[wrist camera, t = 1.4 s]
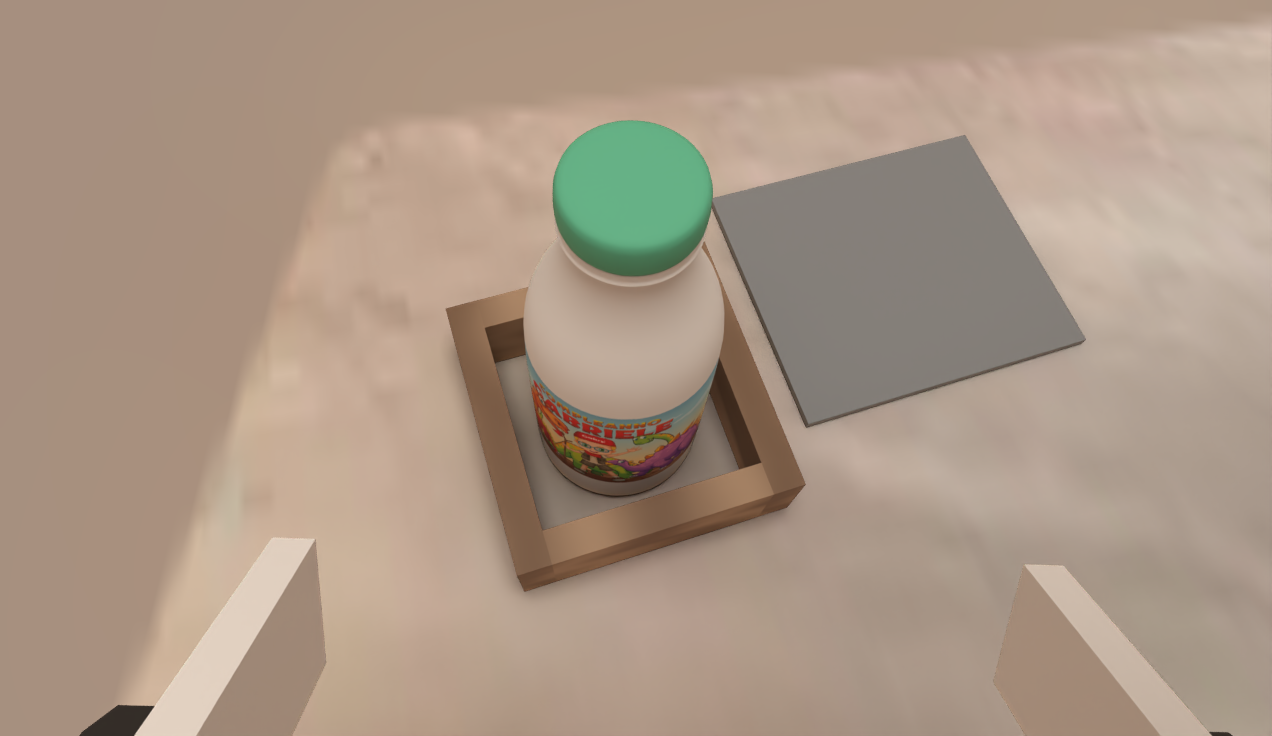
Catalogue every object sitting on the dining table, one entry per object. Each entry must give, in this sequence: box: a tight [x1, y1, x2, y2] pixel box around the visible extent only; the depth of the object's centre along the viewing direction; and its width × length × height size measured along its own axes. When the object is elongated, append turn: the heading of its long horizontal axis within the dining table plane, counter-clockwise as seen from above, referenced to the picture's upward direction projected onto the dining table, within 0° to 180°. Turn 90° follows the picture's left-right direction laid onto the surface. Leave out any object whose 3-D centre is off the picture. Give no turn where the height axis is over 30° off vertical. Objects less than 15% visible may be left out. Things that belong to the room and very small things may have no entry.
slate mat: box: [712, 135, 1086, 427], centre depth 46 cm, size 16×14×1 cm
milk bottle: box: [523, 120, 724, 496], centre depth 33 cm, size 8×8×20 cm
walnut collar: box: [446, 242, 806, 591], centre depth 40 cm, size 13×13×4 cm
